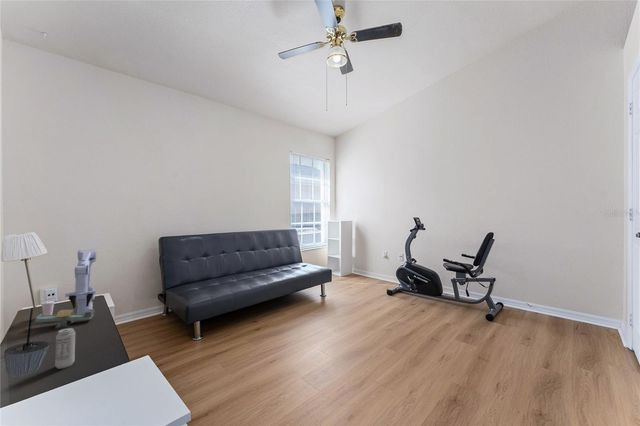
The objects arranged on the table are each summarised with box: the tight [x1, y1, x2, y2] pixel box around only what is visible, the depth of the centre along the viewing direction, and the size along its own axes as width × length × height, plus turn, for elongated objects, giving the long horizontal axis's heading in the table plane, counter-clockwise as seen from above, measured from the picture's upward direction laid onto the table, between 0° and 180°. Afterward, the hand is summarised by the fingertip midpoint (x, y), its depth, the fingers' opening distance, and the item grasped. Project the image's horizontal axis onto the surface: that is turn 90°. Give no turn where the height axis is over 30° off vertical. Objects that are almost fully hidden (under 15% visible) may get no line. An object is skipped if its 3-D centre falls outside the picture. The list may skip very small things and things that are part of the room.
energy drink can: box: [54, 327, 76, 370], centre depth 115 cm, size 6×6×15 cm
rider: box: [56, 309, 74, 318], centre depth 163 cm, size 5×6×4 cm
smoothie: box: [40, 295, 56, 315], centre depth 176 cm, size 6×6×14 cm
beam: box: [34, 308, 95, 323], centre depth 163 cm, size 9×25×4 cm, turn 119°
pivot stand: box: [54, 319, 76, 330], centre depth 163 cm, size 12×6×5 cm, turn 29°
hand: (81, 307), depth 166 cm, fingers open, 6 cm apart
